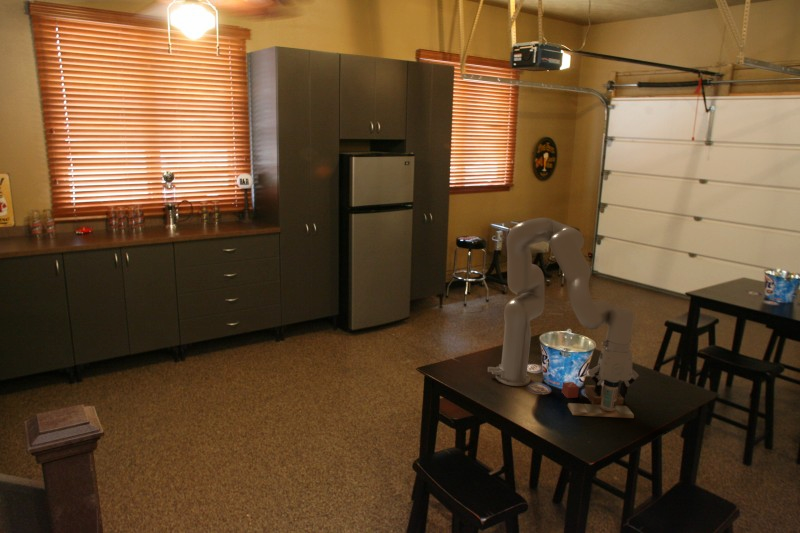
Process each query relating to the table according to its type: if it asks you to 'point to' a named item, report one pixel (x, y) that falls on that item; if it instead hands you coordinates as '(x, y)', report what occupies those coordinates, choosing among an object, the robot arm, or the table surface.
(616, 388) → the spice shaker bottle
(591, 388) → the square wooden tray
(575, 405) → the board
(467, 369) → the table surface
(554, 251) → the robot arm
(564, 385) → the die
